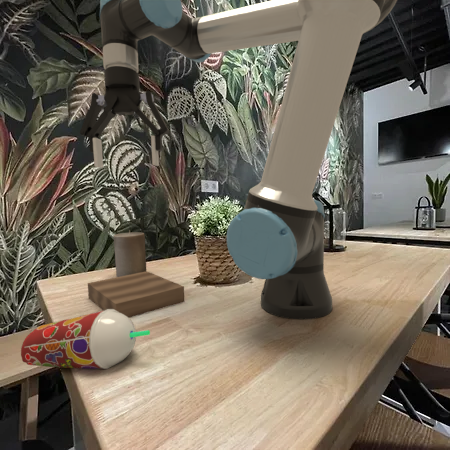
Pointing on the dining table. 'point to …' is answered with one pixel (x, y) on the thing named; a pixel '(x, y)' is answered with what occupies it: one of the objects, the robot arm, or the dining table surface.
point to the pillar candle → (130, 253)
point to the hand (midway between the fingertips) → (127, 166)
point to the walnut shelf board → (135, 293)
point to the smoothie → (82, 341)
